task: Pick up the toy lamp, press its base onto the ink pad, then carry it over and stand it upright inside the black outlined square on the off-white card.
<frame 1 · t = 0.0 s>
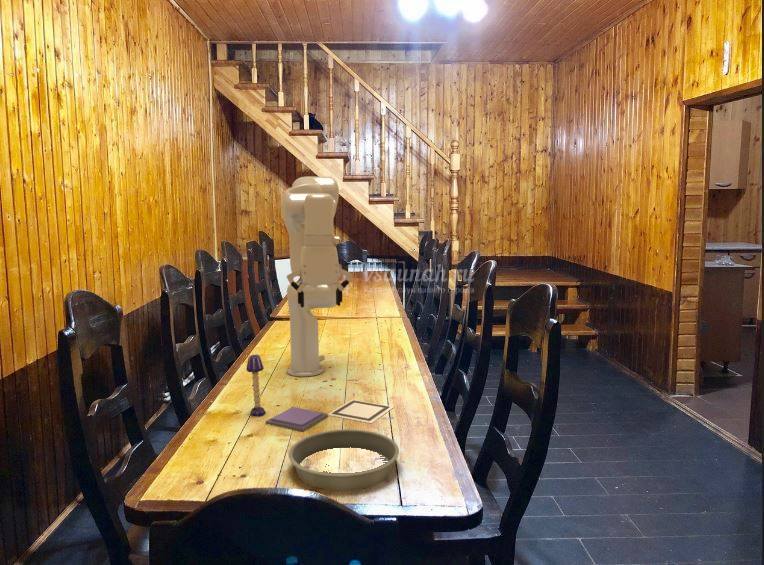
hand: (320, 305, 162), 31 cm above the table, tool pointing down, fingers open, 9 cm apart
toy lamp: (256, 414, 170), on the table
ink pad: (297, 420, 165), on the table
cake pan: (344, 469, 137), on the table
marked card: (361, 411, 172), on the table
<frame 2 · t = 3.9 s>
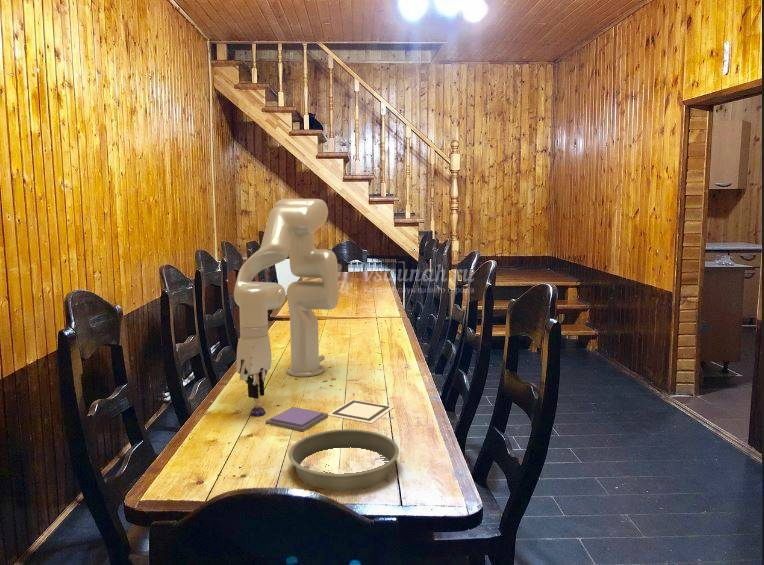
hand: (256, 395, 169), 5 cm above the table, tool pointing down, fingers closed on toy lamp
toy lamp: (256, 414, 170), on the table, touching gripper
everything else where it was.
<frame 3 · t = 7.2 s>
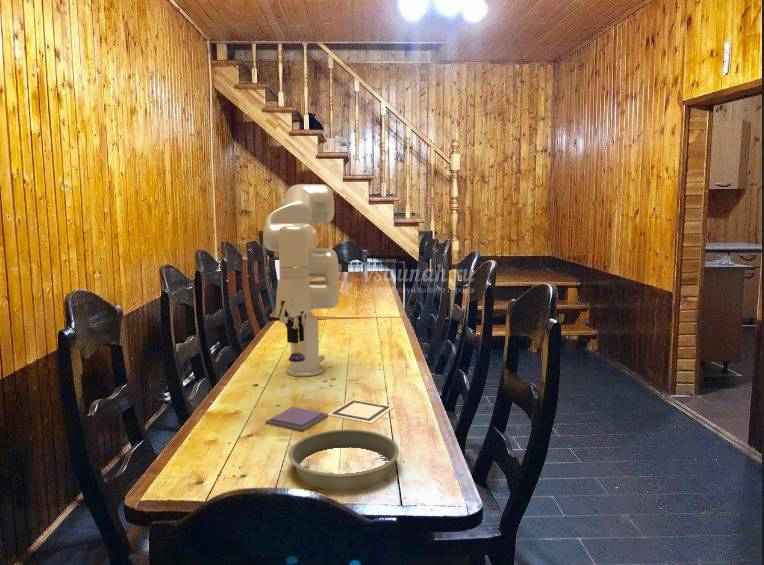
hand: (295, 341, 162), 22 cm above the table, tool pointing down, fingers closed on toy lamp
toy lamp: (295, 360, 163), point 17 cm above the table, touching gripper
everything else where it was.
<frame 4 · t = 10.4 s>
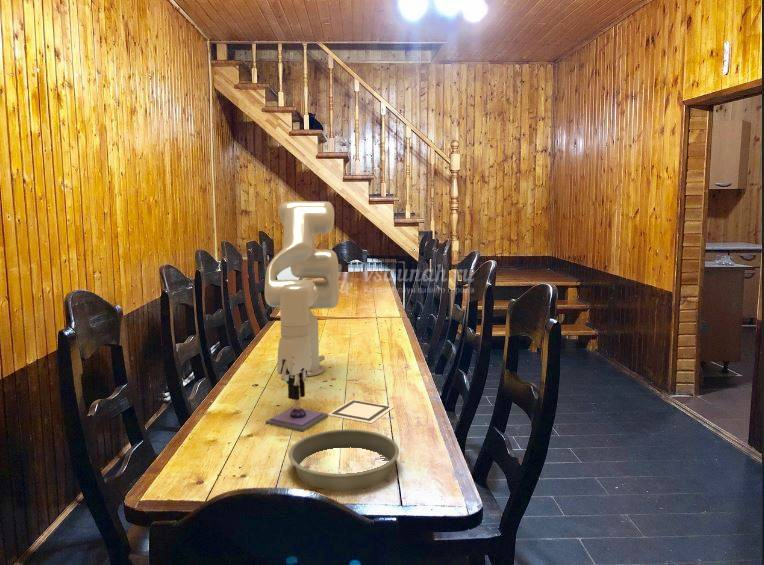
hand: (296, 397, 164), 7 cm above the table, tool pointing down, fingers closed on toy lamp
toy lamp: (296, 416, 165), point 1 cm above the table, touching gripper, ink pad
everything else where it was.
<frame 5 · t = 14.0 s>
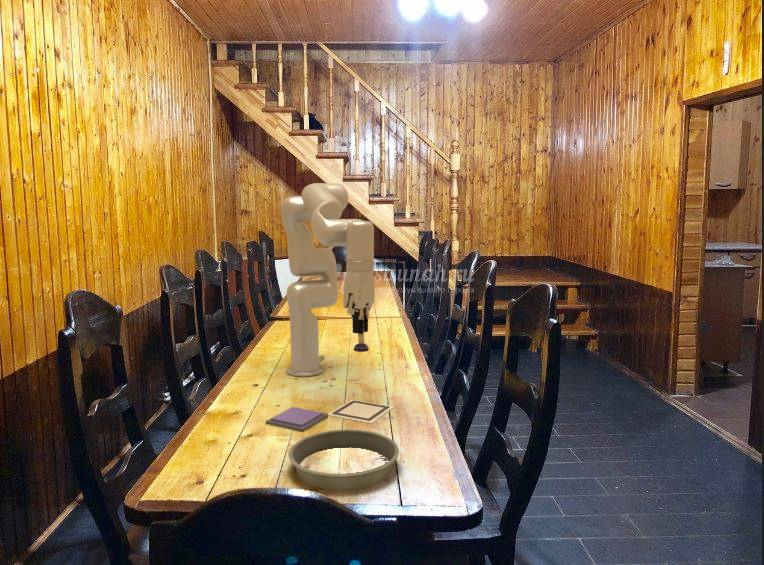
hand: (360, 332, 169), 23 cm above the table, tool pointing down, fingers closed on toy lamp
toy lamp: (360, 350, 170), point 18 cm above the table, touching gripper
everything else where it was.
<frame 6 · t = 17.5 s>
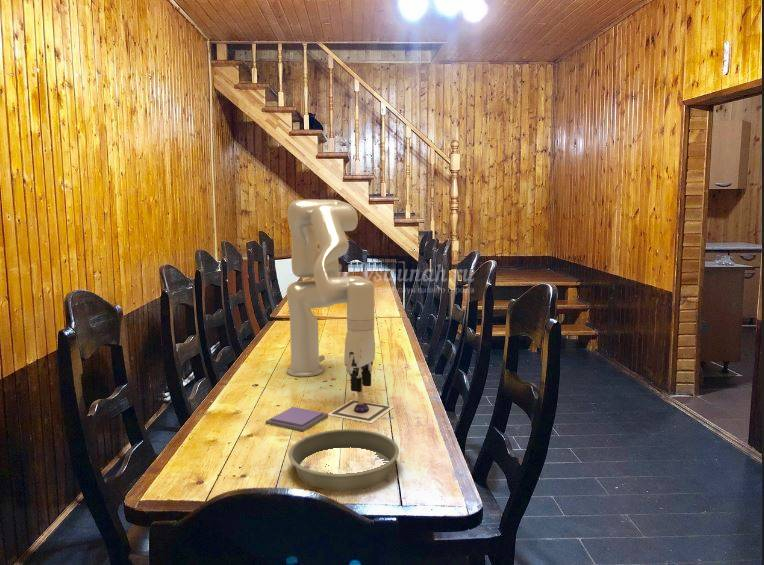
hand: (361, 387, 171), 7 cm above the table, tool pointing down, fingers open, 4 cm apart
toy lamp: (360, 410, 172), resting on marked card
everything else where it was.
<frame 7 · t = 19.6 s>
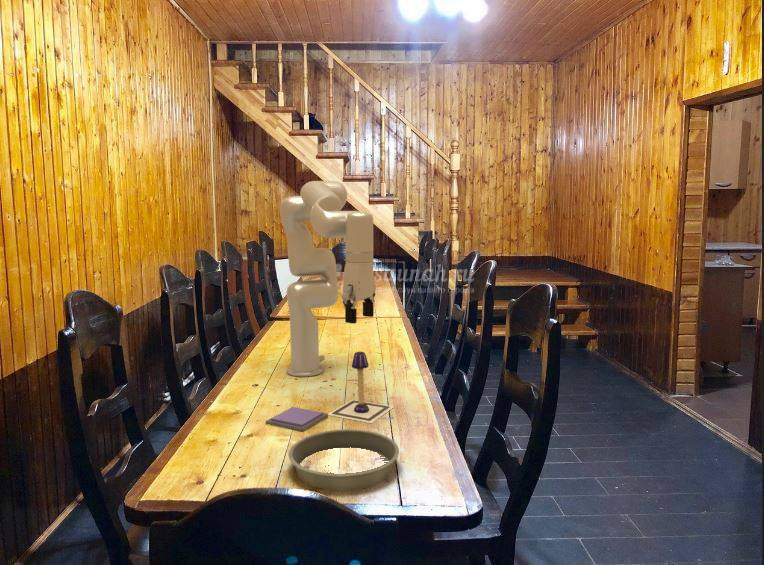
hand: (359, 319, 169), 26 cm above the table, tool pointing down, fingers open, 9 cm apart
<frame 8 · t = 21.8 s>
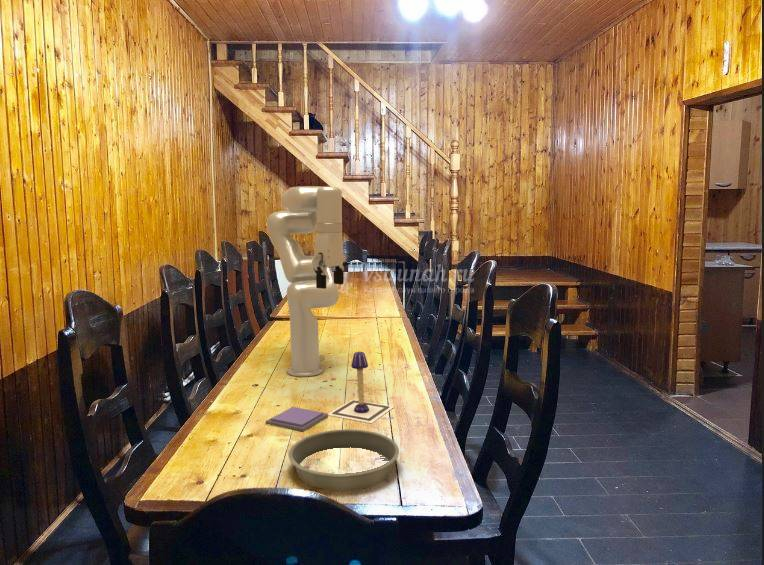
hand: (330, 286, 183), 33 cm above the table, tool pointing down, fingers open, 9 cm apart
nothing on the table moved.
at the end: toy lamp 0.3 cm off-centre on the marked card, point 0.0 cm above the marked card's base; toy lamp tilted 1°; the gripper is holding nothing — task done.
